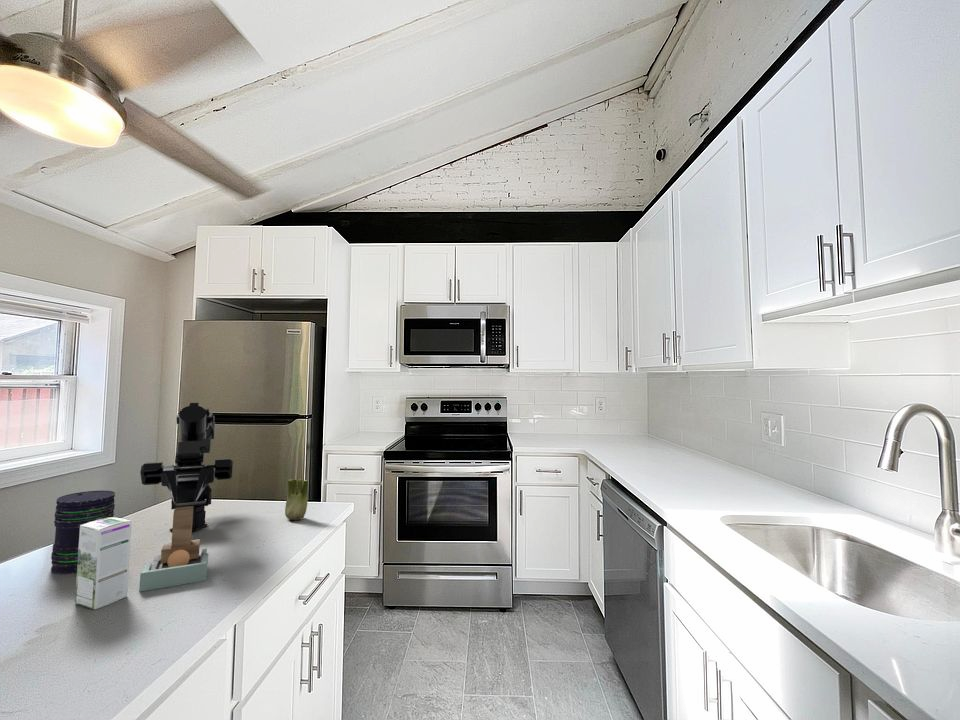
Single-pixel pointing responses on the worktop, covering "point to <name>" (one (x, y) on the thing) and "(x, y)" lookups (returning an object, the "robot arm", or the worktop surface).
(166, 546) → the kicker
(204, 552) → the rails
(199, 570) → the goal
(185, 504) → the robot arm
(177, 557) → the ball
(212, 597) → the worktop surface
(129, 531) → the syrup box
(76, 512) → the storage jar
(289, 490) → the fennel bulb
